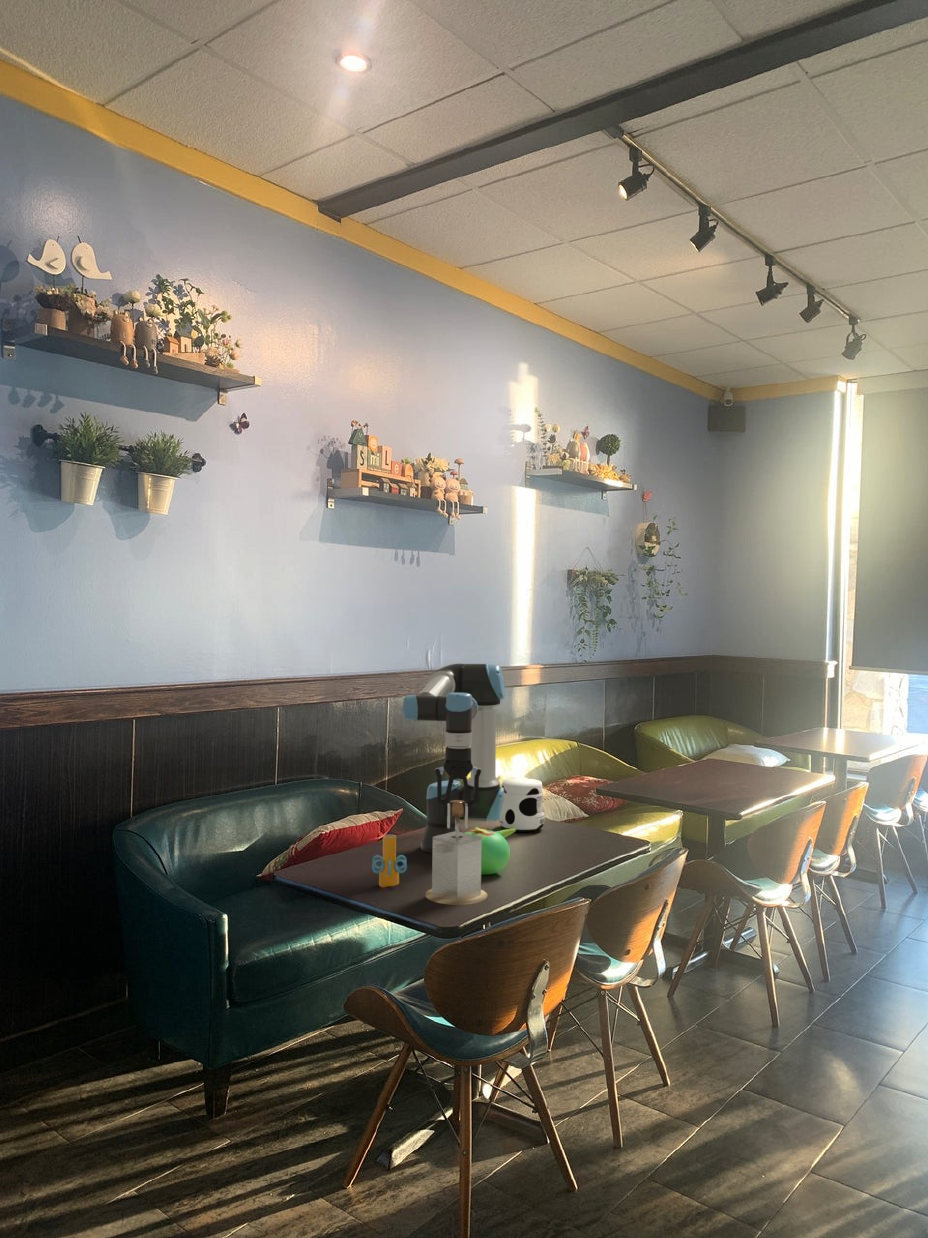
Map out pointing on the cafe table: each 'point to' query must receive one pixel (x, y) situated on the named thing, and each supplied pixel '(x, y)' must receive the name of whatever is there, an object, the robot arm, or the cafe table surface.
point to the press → (456, 866)
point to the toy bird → (493, 849)
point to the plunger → (457, 813)
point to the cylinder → (389, 863)
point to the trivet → (464, 902)
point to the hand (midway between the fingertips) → (457, 827)
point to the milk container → (522, 805)
